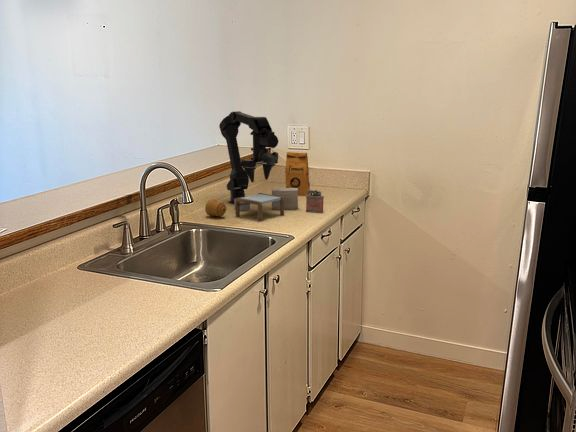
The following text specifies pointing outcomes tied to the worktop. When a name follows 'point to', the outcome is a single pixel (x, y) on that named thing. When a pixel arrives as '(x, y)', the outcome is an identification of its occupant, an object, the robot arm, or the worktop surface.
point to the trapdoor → (262, 198)
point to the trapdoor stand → (245, 201)
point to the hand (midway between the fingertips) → (259, 181)
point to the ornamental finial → (215, 208)
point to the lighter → (314, 202)
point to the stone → (243, 207)
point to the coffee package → (297, 172)
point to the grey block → (286, 198)
